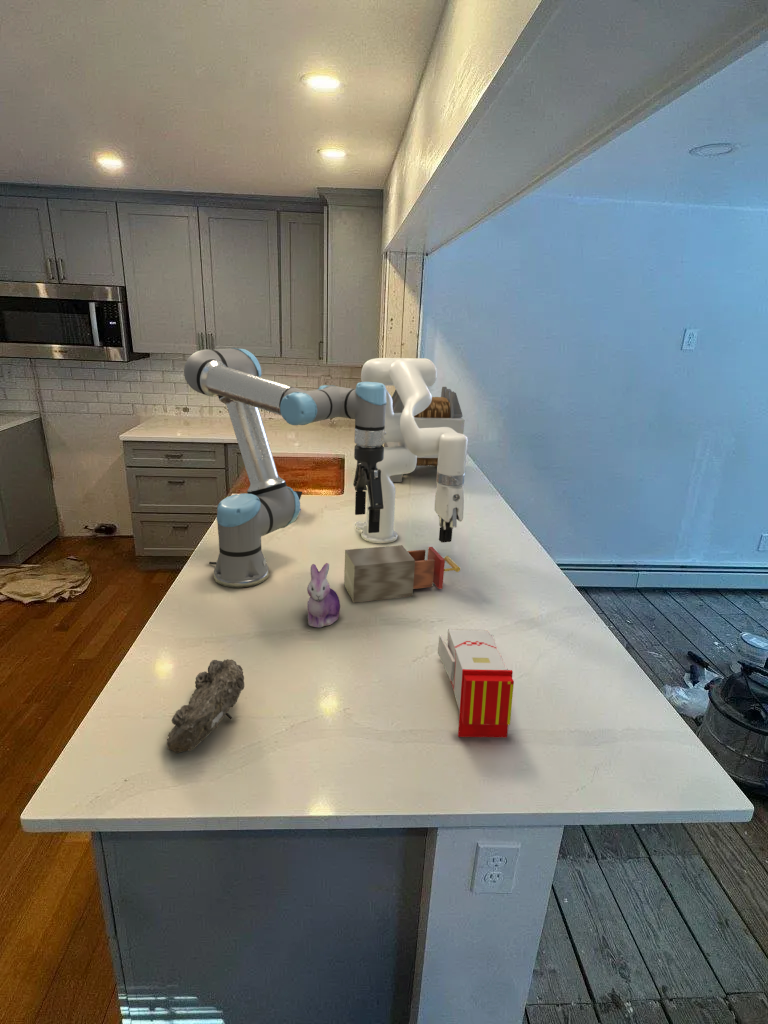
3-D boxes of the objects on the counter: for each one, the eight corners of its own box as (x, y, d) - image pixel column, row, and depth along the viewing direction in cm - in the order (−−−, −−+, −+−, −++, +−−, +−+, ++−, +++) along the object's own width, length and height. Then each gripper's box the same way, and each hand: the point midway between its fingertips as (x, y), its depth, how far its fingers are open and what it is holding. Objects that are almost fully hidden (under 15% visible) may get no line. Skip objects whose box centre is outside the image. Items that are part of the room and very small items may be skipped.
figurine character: (298, 524, 207) (303, 507, 221) (298, 506, 204) (302, 489, 217) (280, 524, 207) (285, 506, 220) (279, 505, 204) (285, 488, 217)
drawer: (446, 572, 170) (449, 545, 167) (460, 586, 161) (462, 558, 158) (379, 579, 164) (381, 550, 161) (389, 594, 155) (391, 564, 152)
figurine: (312, 633, 137) (312, 577, 132) (298, 613, 145) (298, 559, 140) (348, 624, 141) (349, 570, 136) (332, 606, 150) (333, 554, 144)
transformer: (382, 463, 289) (386, 382, 275) (445, 464, 293) (451, 384, 279) (390, 482, 257) (394, 392, 243) (460, 483, 261) (468, 394, 247)
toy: (488, 613, 130) (523, 677, 101) (484, 667, 133) (517, 744, 104) (435, 612, 130) (455, 676, 101) (432, 666, 133) (451, 743, 103)
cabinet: (400, 579, 167) (402, 545, 163) (412, 596, 157) (415, 560, 153) (344, 584, 162) (344, 549, 158) (353, 602, 152) (354, 566, 148)
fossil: (192, 660, 117) (244, 628, 112) (224, 691, 120) (276, 661, 115) (142, 746, 98) (202, 712, 93) (182, 779, 101) (242, 748, 96)
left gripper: (399, 456, 134) (394, 539, 141) (370, 434, 156) (367, 506, 163) (368, 457, 132) (365, 541, 139) (343, 434, 154) (342, 508, 161)
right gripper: (474, 486, 148) (468, 550, 155) (451, 470, 162) (446, 530, 168) (448, 487, 146) (442, 552, 152) (427, 471, 160) (423, 532, 166)
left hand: (366, 523), depth 151 cm, fingers open, 13 cm apart
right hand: (445, 540), depth 160 cm, fingers closed
